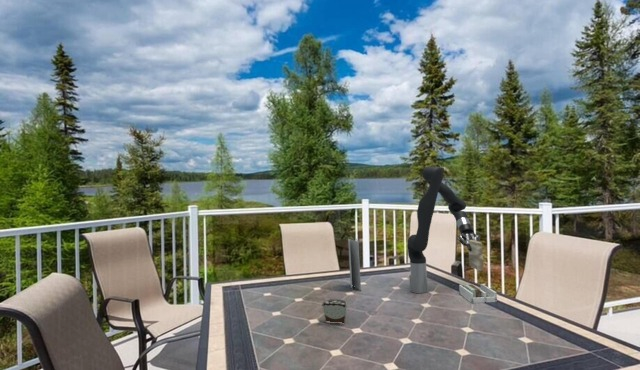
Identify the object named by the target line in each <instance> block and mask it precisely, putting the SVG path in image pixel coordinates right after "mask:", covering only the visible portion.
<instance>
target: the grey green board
mask: <svg viewBox="0 0 640 370" xmlns="http://www.w3.org/2000/svg"><path fill="white" fill-rule="evenodd" d="M469 244H470V246H471V249H472V251H469V250H468V263H469V267H472V268H473V269H475V270H476V271H484V254H483V253H484V252H483V243H482V242H481V241H480V242H478V241H477V240H476V241H475V240H469Z"/></svg>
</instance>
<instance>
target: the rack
mask: <svg viewBox="0 0 640 370" xmlns="http://www.w3.org/2000/svg"><path fill="white" fill-rule="evenodd" d="M470 285H474V284H473V283H472V284H470ZM474 286H475V287H477V288H478V289H480V297H478V298H473V293H472V292H470V291H469V290H467V289H466V288H465V287H464V286H463V285H462V284H459V285H458V289H459V291H458V292H459V295H461V296H462V297H463V298H464V299H465V300H467V301H468V302H469V303H470V304H482V303H485V302H486V303H497V302H498V300H497V299H498V298H497V291H495V290H493V289H492V288H490V287H488V286H487V285H486V284H483V283H480V288H479V287H478V286H476V285H474Z"/></svg>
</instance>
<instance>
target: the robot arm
mask: <svg viewBox="0 0 640 370" xmlns="http://www.w3.org/2000/svg"><path fill="white" fill-rule="evenodd" d="M421 172H422V173H421V175H422V178H423V180H424V181H425V182H426V183H428V184H429V187H428V189H427V191H426V192H425V193H424V194H423V196H422V197H421V198H420V200H419V202H418V207H417V211H416V217H417V219H416V220H417V230H416V234H411V235H410V236H409V237H408V239H407V255H408V258H409V266H410V267H409V268H410V271H409V272H410V275H409V277H408V278H409V291H410V292H411V293H415V294H426V293H428V290H429V289H428V276H427V275H428V272H427V257H426V256H425V254H424V251H425V250H426V249H427V246H428V244H429V237H430V229H431V225H432V219H433V217H434V212H435V208H436V201H437V199H438V194H439V195H440V196H441V197H442V198H443V200H444V201H445V202H446V203H447V204H448V206H447V209H448V210H449V212H450V213H451V214H452V216H453V217H454V219H455V221H456V225H457V228H458V231H459V233H460V235H458V236H457V238H456V240H457V241H458V242H459V243H460V244H461V245H462V246H463V247H465V246H466V248H467V251H468V252H469V251H472V249H471V246H470V244H469V240H475V241H478V242H481V237H482V236H481V234H476V233H475V232H474V228H473V226H472V223H471V222H470V220H469V217H468V214H467V212H465V211H464V210H465V209H466V208H467V204H466V201H464V200H463V198H462V199H461V198H460V197H459V196H457V194H455V192H454V191H453V189H452V188H451V187H449V186H448V185H446V184H445V183H443V178H444V169H443V167H440V166H430V165H429V166H426V167H424V168H423V169H422V171H421Z"/></svg>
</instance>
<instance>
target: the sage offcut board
mask: <svg viewBox="0 0 640 370" xmlns="http://www.w3.org/2000/svg"><path fill="white" fill-rule="evenodd" d="M469 285H470V284H464V286H463V287H465V288H466V289H467V290H469V291H470V292H472V293H473V298H476V291H475V289H474V288H472V287H471V286H469Z"/></svg>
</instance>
